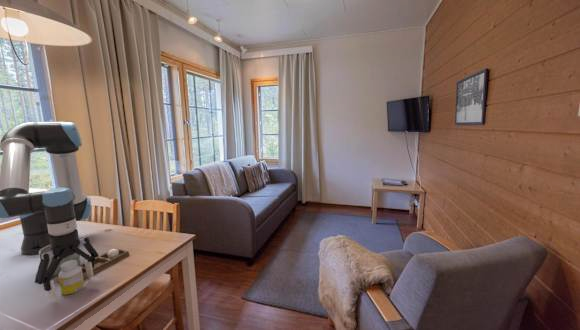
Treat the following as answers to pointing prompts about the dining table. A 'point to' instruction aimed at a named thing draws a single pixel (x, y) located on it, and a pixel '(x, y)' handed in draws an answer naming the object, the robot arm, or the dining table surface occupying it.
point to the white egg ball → (112, 253)
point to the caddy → (101, 263)
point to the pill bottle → (71, 278)
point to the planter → (70, 257)
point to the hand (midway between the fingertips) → (72, 286)
